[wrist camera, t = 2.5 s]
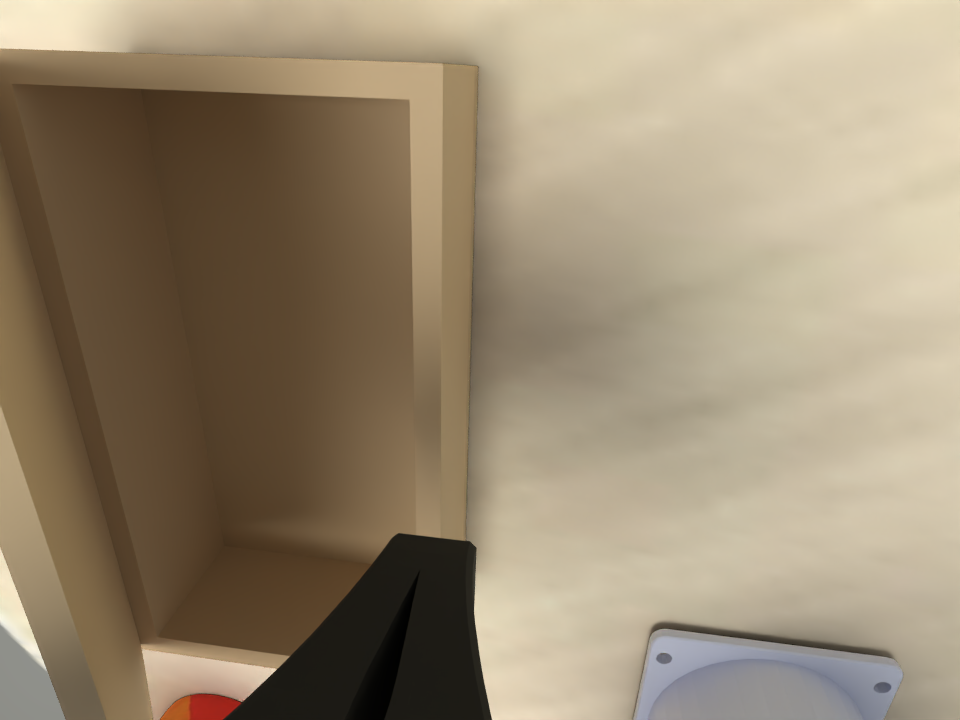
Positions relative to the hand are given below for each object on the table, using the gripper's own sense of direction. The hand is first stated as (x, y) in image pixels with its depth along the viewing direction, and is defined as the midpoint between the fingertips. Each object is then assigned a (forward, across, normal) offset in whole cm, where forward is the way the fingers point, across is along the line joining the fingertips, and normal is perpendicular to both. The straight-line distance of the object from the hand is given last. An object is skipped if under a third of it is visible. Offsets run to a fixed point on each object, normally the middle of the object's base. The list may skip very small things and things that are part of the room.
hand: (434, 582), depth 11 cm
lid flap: (0, +7, 0) cm, 7 cm away
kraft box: (+8, +5, 0) cm, 10 cm away
